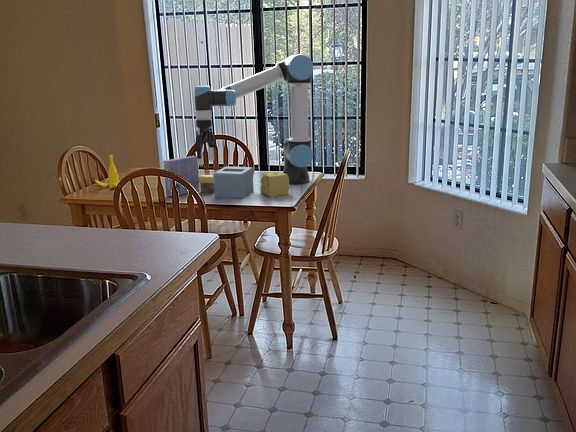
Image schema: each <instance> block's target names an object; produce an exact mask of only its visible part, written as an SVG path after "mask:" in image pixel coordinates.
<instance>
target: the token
mask: <svg viewBox="0 0 576 432" xmlns="http://www.w3.org/2000/svg"><path fill="white" fill-rule="evenodd" d="M198 179H199V184H200V183H214V174H213V175H212V174H210V175H209V174H200V175H198Z"/></svg>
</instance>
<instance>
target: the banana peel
mask: <svg viewBox="0 0 576 432" xmlns="http://www.w3.org/2000/svg"><path fill="white" fill-rule="evenodd" d="M113 156H114V155H112V154H109V155H108V158H109V165H108V166H109V167H108V175H107V177H108V178H107V180H108V182H106V183H105V182H101V181H99V180H98V179H95V180H94V181H95V182H96V183H97V184H98V185H99V186H101V187H104V188H105V187H106V188H108V187H109V189H117V188H116V186H117V184H118V182H120V178H119V174H118V171H117V168H116V166H115V163H114V161H113V159H114V158H113Z"/></svg>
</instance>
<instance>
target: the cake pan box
mask: <svg viewBox="0 0 576 432" xmlns="http://www.w3.org/2000/svg"><path fill="white" fill-rule="evenodd" d="M162 163H163V164H162V165H163V171H164V170H168V171H171V172H173V173H176V174H179V175H180V176H182V177H184V178H185V179H187V180H188V181H189V182H190V183H191V185H192V186H193V187H194V188H195V189H196V191H195V192H199V191H200V192H201V189H200V183H199V179H198V177H199V165H197V155H192V156H191V155H190V156H185V157H179V158H178V157H177V158H172V159H165V160H163V162H162ZM164 186H165V187H164V188H165V196H166V197H169V198H172V197H171V190H172V180H171V179H168V178H165V177H164ZM176 188H177V190H178V193H179V196H182V195H188V194H189V193H188V191H187V189H186V188H185V187H183V186H182V185H181V184H179V183H177V182H176Z"/></svg>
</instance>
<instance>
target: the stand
mask: <svg viewBox="0 0 576 432" xmlns="http://www.w3.org/2000/svg"><path fill="white" fill-rule="evenodd" d="M199 189H200V193H211V194H212V193H213V194H215V188H214V183H199Z"/></svg>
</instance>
